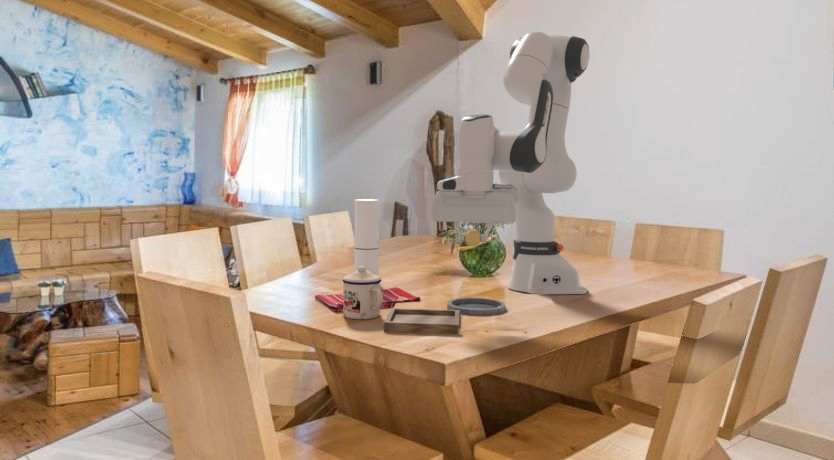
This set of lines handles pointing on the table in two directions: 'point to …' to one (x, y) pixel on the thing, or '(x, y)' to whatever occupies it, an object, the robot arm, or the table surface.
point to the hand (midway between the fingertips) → (472, 241)
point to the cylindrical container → (366, 235)
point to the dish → (476, 306)
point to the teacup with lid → (362, 295)
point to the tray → (422, 321)
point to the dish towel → (389, 301)
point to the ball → (472, 237)
